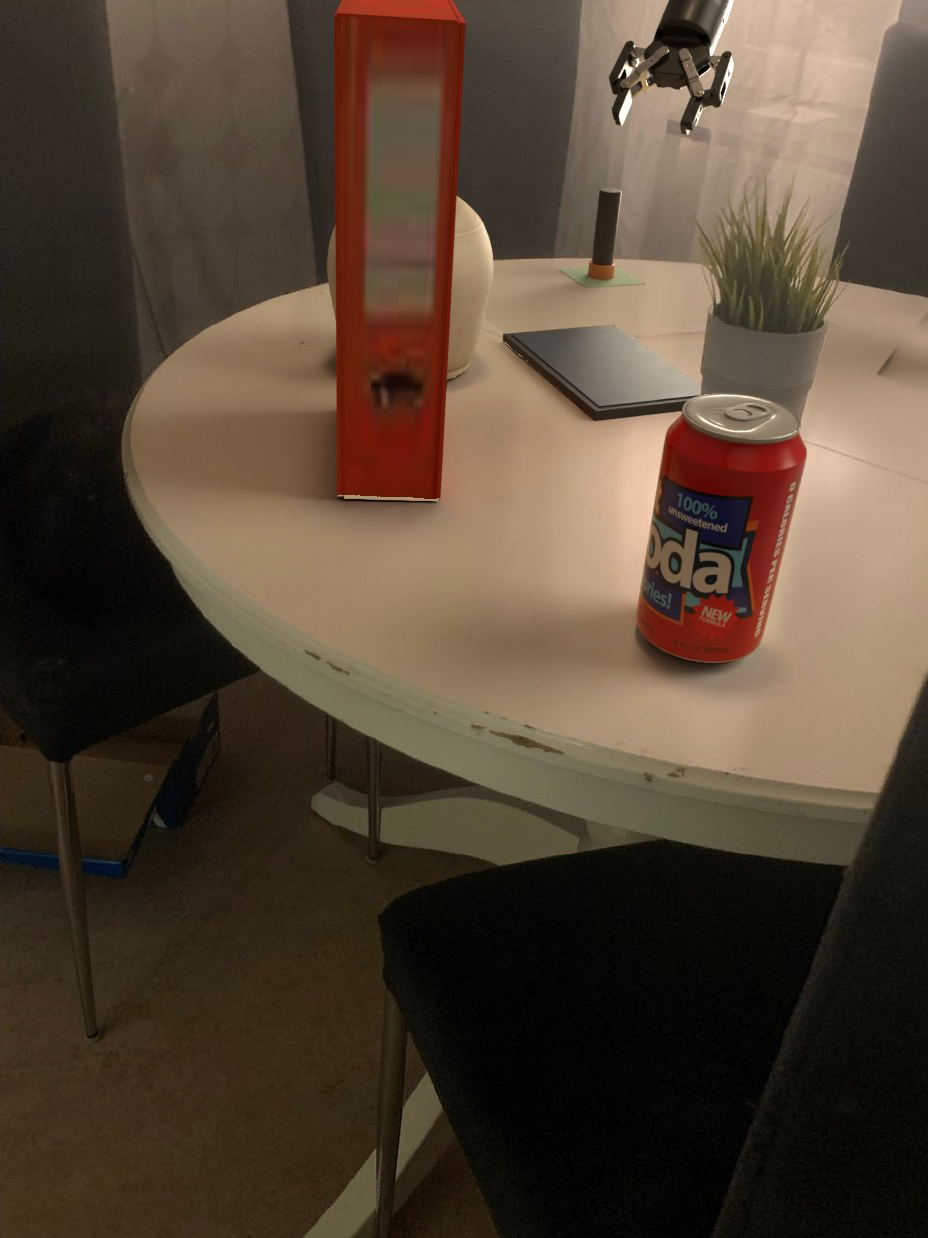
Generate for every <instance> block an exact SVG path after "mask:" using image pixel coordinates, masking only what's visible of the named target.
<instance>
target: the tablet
mask: <svg viewBox="0 0 928 1238" xmlns="http://www.w3.org/2000/svg"><path fill="white" fill-rule="evenodd" d="M503 341H504V342H506V343H507V344H508V345H509V346H510V347H511V348H512V349H513V350H514V351H516V352H517V353H518V354H520V355H521V356H522V357H523V358H524V359H525V360H527V361H528V363H529V364H531V366H533V367H534V368H535V369H536V370H537V371H538V372H537V371H536V370H535V369H534V368H533V367H532V368H533V369H534V370H535V371H536V372H537V373H539V372H540V373H541V374H542V375H543V376H544V377H545V378H544V377H543V376H542V375H541V374H540V373H539V374H540V375H541V376H542V377H543V378H544V379H546V380H547V381H548V380H549V381H550V382H551V383H552V385H553V384H554V385H555V386H556V387H558V388H559V389H560V390H561V391H562V392H563V393H564V394H565V395H564V394H563V393H562V392H561V391H560V390H559V389H558V390H559V391H560V392H561V393H562V394H563V395H564V396H565V397H566V398H568V397H569V398H570V399H571V400H572V401H571V400H570V399H569V398H568V399H569V400H570V401H571V402H573V403H574V404H575V403H576V404H577V405H578V406H577V405H576V404H575V405H576V406H577V407H578V408H580V409H581V410H582V411H583V412H584V411H585V412H584V413H586V414H587V413H588V414H589V415H590V416H591V417H592V418H591V417H590V416H589V415H588V414H587V415H588V416H589V417H590V418H591V419H593V421H601V420H600V419H603V420H607V419H606V418H611V419H617V418H616V417H619V418H628V417H635V416H636V417H637V416H644V415H653V414H661V413H662V414H663V413H670V412H679V411H680V412H681V411H682V408H683V405H684V404H685V402H687V401H688V400H689V399H691V398H693V397H696V396H700V394H701V384H702V383H701V382H699V381H698V380H697V379H695V378H694V377H693V376H691V375H689V374H687V372H685V371H684V370H682V369H681V368H679V367H678V366H676V365H675V364H673V363H672V362H670V361H669V360H667V359H666V358H664V357H663V356H661V355H660V354H658V353H657V352H656V351H654V350H652V349H651V348H650V347H648V346H647V345H645V344H644V343H643V342H641V341H639V340H638V339H636V338H635V337H633V336H632V335H631V334H629V333H627V332H626V331H624V330H623V329H622V328H621V327H619V326H617V325H615V324H601V325H592V326H589V325H588V326H579V327H567V328H556V329H541V330H531V331H520V332H519V331H518V332H507V333H503V334H502V342H503ZM512 349H511V350H512ZM513 350H512V351H513ZM514 351H513V352H514ZM528 363H527V364H528ZM529 364H528V365H529ZM531 366H530V367H531ZM549 381H548V382H549ZM550 382H549V383H550ZM551 383H550V384H551ZM554 385H553V386H554ZM555 386H554V387H555ZM556 387H555V388H556ZM604 418H605V419H604ZM619 418H618V419H619Z"/></svg>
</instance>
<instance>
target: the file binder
mask: <svg viewBox="0 0 928 1238" xmlns="http://www.w3.org/2000/svg"><path fill="white" fill-rule="evenodd" d="M466 25H467V22H466V21H465V19H464V17H463V15H462V13H461V12H460V11H459V9H458V7H457V6H456V4H455V2H454V1H453V0H341V1H340V3H339V5H338V7H337V9H336V11H335V13H334V15H333V49H334V50H333V55H334V56H333V61H334V62H333V63H334V64H333V65H334V67H333V69H334V70H333V71H334V75H333V76H334V80H333V81H334V82H333V83H334V218H335V219H334V220H335V221H334V222H335V223H334V227H335V248H336V320H335V371H336V372H335V378H336V379H335V381H336V382H335V383H336V384H335V385H336V388H335V389H336V390H335V391H336V393H335V394H336V395H335V397H336V399H335V400H336V401H335V404H336V409H335V410H336V496H337V495H340V494H341V495H356V496H357V495H360V496H377V497H379V496H380V497H413V498H424V499H437V498H441V497H442V478H443V463H444V462H443V460H444V442H445V423H446V405H447V403H446V402H447V387H448V385H447V383H448V381H447V368H448V350H449V331H450V312H451V293H452V274H453V256H454V237H455V218H456V199H457V196H458V195H457V194H458V181H459V179H458V178H459V158H460V143H461V142H460V139H461V124H462V102H463V86H464V85H463V83H464V68H465V67H464V64H465V48H466V47H465V45H466V29H467V28H466Z"/></svg>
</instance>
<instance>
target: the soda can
mask: <svg viewBox="0 0 928 1238" xmlns="http://www.w3.org/2000/svg"><path fill="white" fill-rule="evenodd" d="M801 428H802V420H801V419H800V417H799V416H798V415H797V413H795V412H794V411H793V410H792V409H790V408H789V407H787V406H785V405H783V404H780V403H779V402H775V401H773V400H770V399H767V398H763V397H761V396H760V397H759V396H755V395H750V394H745V393H744V394H743V393H733V392H714V393H712V394H704V395H700V396H696V397H693V398H691V399H689V400H688V401H687V402H685V404H684V405H683V408H682V410H681V414H680V415H679V417H677V419H676V420H675V421H673V423H671V424H670V425H669V426H668V428H667V430H666V432H665V436H664V442H663V447H662V452H661V460H660V465H659V470H658V471H659V472H658V478H657V483H656V484H657V485H656V488H655V496H654V502H653V503H654V504H653V508H652V514H651V520H650V526H649V532H648V537H647V538H648V539H647V544H646V545H647V546H646V550H645V551H646V552H645V558H644V564H643V570H642V576H641V580H640V581H641V583H640V589H639V595H638V600H637V607H636V624H637V627H638V629H639V630H640V631H639V632H641V634H642V635H643V636H644V638H645V639H646V640H647V641H648V642H650V643H651V645H653V646H655V647H656V648H658V649H659V650H661V651H663V652H664V653H666V654H669V655H671V656H674V657H676V658H679V659H681V658H682V660H685V659H686V660H685V661H689V660H690V661H689V662H693V661H695V662H694V663H701V662H703V663H702V664H722V663H730V662H734V661H738V660H740V659H743V658H746V657H747V656H749V655H751V654H752V653H753V652H755V651H756V650H757V649H758V647H759V646H760V644H761V642H762V640H763V638H764V635H765V630H766V626H767V623H768V618H769V615H770V611H771V606H772V602H773V598H774V594H775V589H776V586H777V582H778V577H779V573H780V570H781V565H782V561H783V557H784V552H785V549H786V545H787V540H788V537H789V532H790V528H791V525H792V520H793V516H794V511H795V507H796V503H797V500H798V496H799V491H800V488H801V487H800V486H801V483H802V480H803V479H802V478H803V474H804V471H805V466H806V462H807V456H808V451H807V447H806V444H805V443H804V440H803V438H802V436H801V434H800V430H801Z"/></svg>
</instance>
